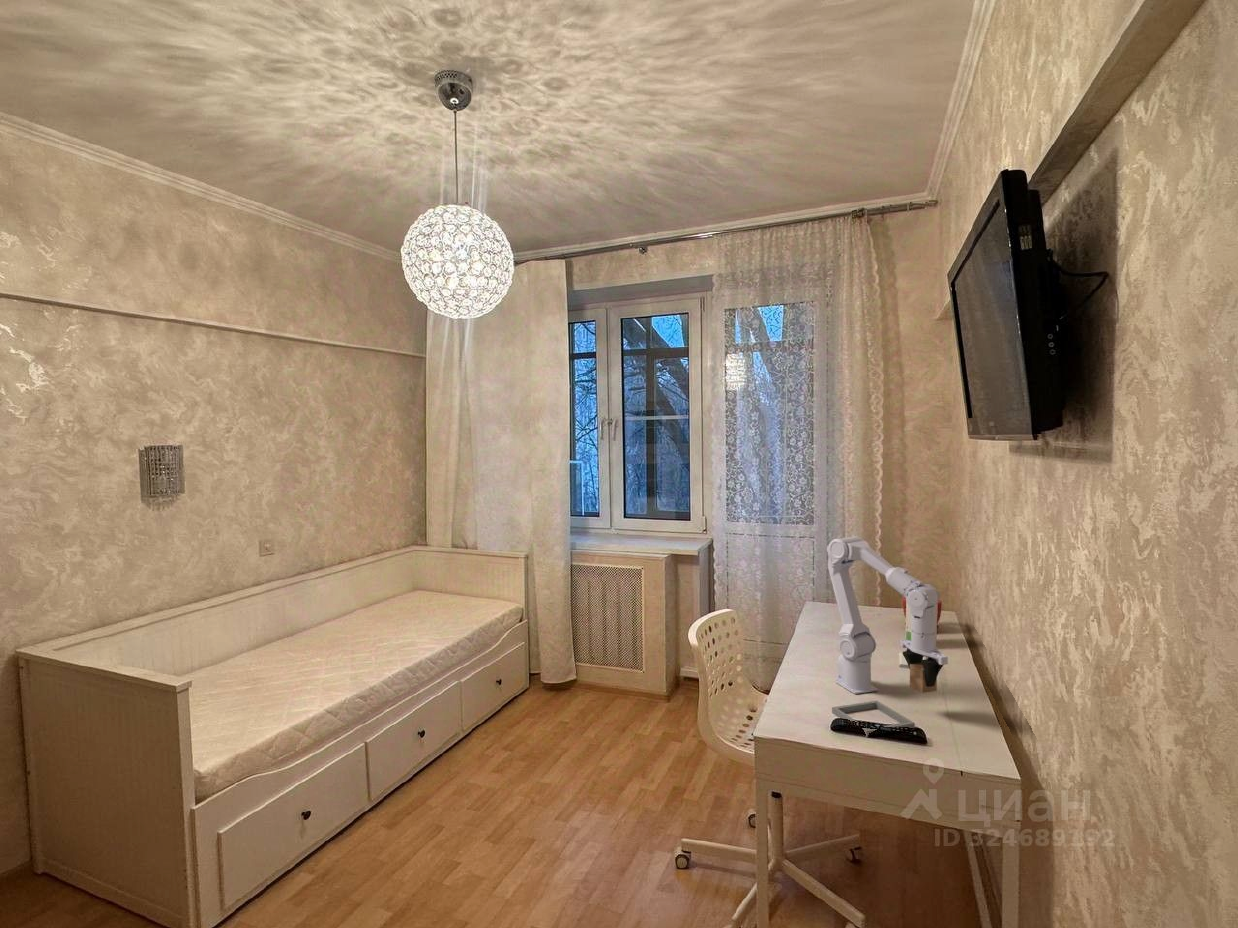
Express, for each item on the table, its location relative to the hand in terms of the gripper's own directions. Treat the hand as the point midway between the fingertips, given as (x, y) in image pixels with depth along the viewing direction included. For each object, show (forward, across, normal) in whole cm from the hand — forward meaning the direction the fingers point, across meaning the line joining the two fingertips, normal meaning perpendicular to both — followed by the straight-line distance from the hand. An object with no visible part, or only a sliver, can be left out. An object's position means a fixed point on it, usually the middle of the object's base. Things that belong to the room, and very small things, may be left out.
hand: (923, 682), depth 159 cm
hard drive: (+9, +31, -24) cm, 40 cm away
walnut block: (+2, 0, 0) cm, 2 cm away
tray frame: (+8, 0, +16) cm, 18 cm away
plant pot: (+8, +58, -52) cm, 78 cm away
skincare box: (+8, +44, -39) cm, 59 cm away
